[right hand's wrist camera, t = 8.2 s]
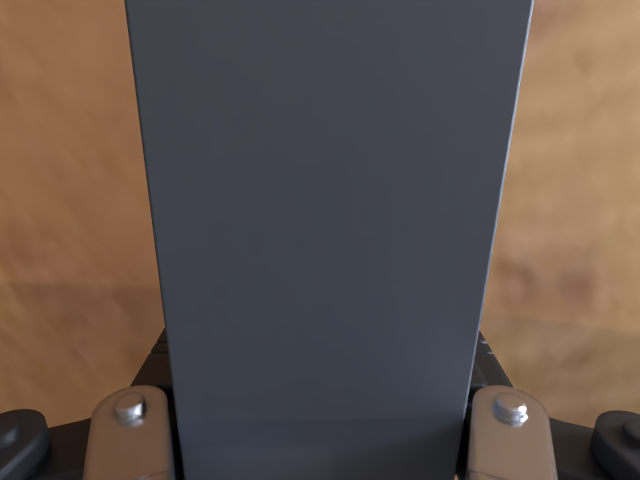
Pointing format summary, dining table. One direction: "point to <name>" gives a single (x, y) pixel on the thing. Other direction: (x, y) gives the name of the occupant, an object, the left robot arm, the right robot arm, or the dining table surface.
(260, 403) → the bar
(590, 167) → the dining table surface
